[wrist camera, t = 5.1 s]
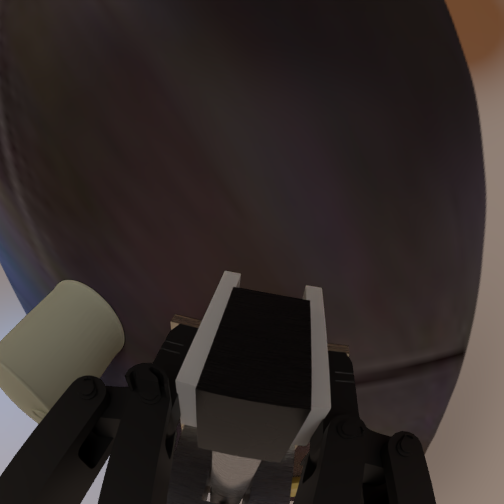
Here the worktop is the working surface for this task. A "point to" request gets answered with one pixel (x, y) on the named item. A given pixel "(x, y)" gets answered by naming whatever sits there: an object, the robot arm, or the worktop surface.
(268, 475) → the block
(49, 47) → the worktop surface
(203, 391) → the shaft
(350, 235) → the worktop surface
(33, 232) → the worktop surface
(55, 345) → the can
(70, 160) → the worktop surface
